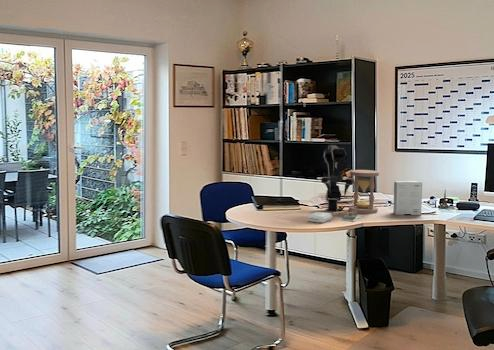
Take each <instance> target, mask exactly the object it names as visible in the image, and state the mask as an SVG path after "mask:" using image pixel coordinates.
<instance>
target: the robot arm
mask: <svg viewBox="0 0 494 350" xmlns="http://www.w3.org/2000/svg"><path fill="white" fill-rule="evenodd" d="M347 155H348V154H347V152H346V150H345V148H344V147H338V146H337V145H336V144H328V147H327V148H325V149H324V151H323V159H324V163H326V166H327V171H328V172H327V174H328V176H323V177H322V178H321V180H320V182H321V183H323V184H324V185H325V186H326V189H327V190H326V193H325V197H324V198H325V200H326V201H327V209H326V210H325V211H331V212H338V211H339V209H340V208H338V202H340V201H341V200H342V199H341V198H342V193H341V190H340V186H339V185H337V183H344V191H343V193H344V196H346V195H347V193H348V189H349V187H350V186H352V185H354V181H355V178H352V177H350V178H348V177H347V178H345V179H344V177H343V176H344V175H343V174H344V171H345V170H346V169H347V166H348V165H347V162H345V161H346V160H347V158H348V157H347Z"/></svg>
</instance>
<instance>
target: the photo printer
mask: <svg viewBox="0 0 494 350" xmlns="http://www.w3.org/2000/svg"><path fill="white" fill-rule="evenodd" d="M332 218H333V216H332V213H330V212H321V211H314V212H312V213H309V214H308V216H307V221H308V222H311V223H319V224H321V223H322V224H323V223H326V222H328V221H331V220H332Z"/></svg>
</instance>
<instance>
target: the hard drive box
mask: <svg viewBox="0 0 494 350" xmlns="http://www.w3.org/2000/svg"><path fill="white" fill-rule="evenodd" d="M422 197H423V182H421V181H419V180H394V181H393V214H394V215H395V216H396V215H397V216H398V215H399V216H401V215H402V216H404V214H411V215H410V216H421V215H422V205H423V204H422V200H423V199H422Z"/></svg>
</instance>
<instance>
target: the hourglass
mask: <svg viewBox="0 0 494 350" xmlns="http://www.w3.org/2000/svg"><path fill="white" fill-rule="evenodd" d="M349 175H350V176H354V183H353V186H354V187H353V188H354V192H353V205H350V206H349V207H348V211H349V212H350V211H352V210H357V214H364V215H365V214H368V215H369V214H376V213H378V211H379V209H378V207H377V206H374V202H375V195H374V190H375V177H377V176H379V175H380V171H378V170H373V169H372V170H370V169H353V170H350V171H349ZM359 177H364V178H359ZM365 177H367V178H365ZM368 177H370V178H368ZM359 186H360V189H361V190H362V193H366V190H367V188H369V196H368V199H369V200H368V201H365V200H362V201H359ZM358 201H359V202H358Z"/></svg>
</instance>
